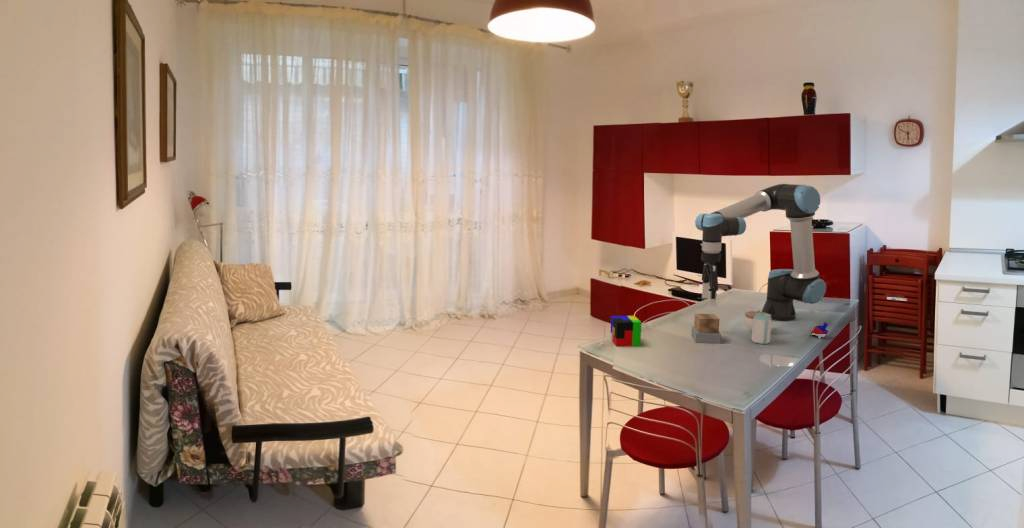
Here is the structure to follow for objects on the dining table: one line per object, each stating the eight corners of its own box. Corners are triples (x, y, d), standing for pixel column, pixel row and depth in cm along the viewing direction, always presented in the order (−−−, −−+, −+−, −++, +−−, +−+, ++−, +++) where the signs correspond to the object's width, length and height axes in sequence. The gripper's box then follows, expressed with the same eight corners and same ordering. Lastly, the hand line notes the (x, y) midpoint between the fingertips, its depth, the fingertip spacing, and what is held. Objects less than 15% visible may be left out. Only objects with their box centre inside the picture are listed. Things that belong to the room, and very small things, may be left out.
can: (748, 339, 262) (750, 312, 260) (764, 339, 263) (766, 311, 260) (756, 345, 255) (758, 316, 253) (772, 344, 256) (775, 316, 254)
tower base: (715, 336, 266) (715, 327, 266) (720, 343, 257) (721, 334, 256) (691, 335, 267) (691, 326, 267) (695, 342, 258) (696, 333, 257)
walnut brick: (713, 327, 265) (714, 314, 264) (718, 333, 257) (719, 319, 256) (694, 327, 265) (694, 313, 264) (699, 332, 257) (699, 318, 256)
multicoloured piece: (817, 341, 265) (826, 327, 261) (809, 335, 268) (818, 321, 264) (822, 340, 267) (831, 326, 263) (814, 333, 270) (824, 320, 265)
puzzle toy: (610, 339, 262) (611, 316, 260) (633, 338, 263) (634, 315, 261) (616, 346, 252) (617, 322, 250) (640, 346, 253) (641, 322, 251)
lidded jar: (769, 329, 278) (771, 308, 276) (770, 336, 268) (772, 314, 266) (743, 327, 281) (745, 306, 279) (744, 333, 271) (745, 312, 269)
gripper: (696, 246, 268) (693, 294, 272) (708, 257, 243) (705, 309, 247) (714, 246, 267) (711, 295, 271) (727, 257, 243) (725, 310, 247)
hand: (708, 302), depth 259 cm, fingers open, 13 cm apart
